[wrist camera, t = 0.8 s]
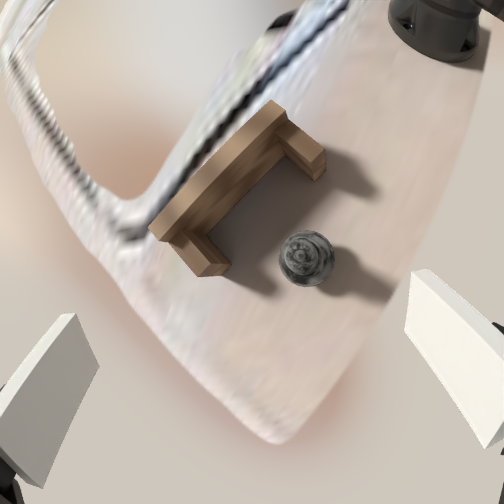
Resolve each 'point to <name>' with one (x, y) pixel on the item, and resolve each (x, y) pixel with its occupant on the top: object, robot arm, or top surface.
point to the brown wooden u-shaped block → (232, 185)
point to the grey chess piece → (306, 258)
